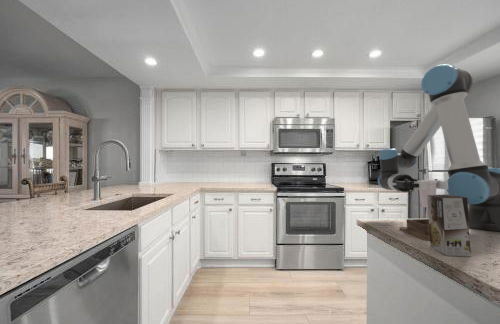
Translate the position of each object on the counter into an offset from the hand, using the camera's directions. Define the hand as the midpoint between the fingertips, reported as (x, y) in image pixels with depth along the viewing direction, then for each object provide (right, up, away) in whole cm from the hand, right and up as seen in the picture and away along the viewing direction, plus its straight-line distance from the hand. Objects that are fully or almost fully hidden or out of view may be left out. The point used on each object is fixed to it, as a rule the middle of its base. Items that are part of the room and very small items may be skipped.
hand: (436, 185), depth 88 cm
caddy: (+1, -18, +4) cm, 18 cm away
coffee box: (-7, -18, -15) cm, 24 cm away
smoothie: (+1, -8, +5) cm, 10 cm away
